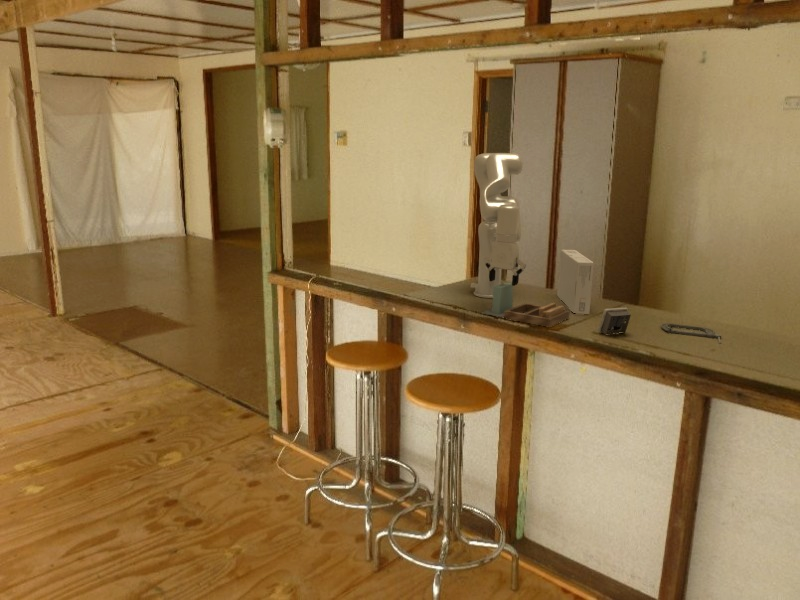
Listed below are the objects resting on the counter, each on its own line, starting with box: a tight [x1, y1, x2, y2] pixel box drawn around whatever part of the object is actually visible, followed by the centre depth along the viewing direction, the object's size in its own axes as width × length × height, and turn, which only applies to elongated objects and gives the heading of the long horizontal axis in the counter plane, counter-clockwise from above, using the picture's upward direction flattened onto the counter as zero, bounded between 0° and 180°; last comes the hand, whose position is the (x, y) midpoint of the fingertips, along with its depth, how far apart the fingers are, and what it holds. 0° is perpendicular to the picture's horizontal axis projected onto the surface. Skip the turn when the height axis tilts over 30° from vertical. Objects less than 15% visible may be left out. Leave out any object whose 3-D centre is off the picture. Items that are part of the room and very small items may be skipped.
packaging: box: [556, 249, 595, 315], centre depth 268 cm, size 30×6×20 cm, turn 179°
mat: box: [480, 306, 515, 318], centre depth 256 cm, size 9×16×1 cm, turn 143°
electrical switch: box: [597, 307, 632, 336], centre depth 229 cm, size 9×5×9 cm, turn 108°
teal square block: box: [491, 282, 514, 314], centre depth 255 cm, size 3×10×10 cm, turn 142°
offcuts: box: [539, 302, 565, 318], centre depth 244 cm, size 5×12×6 cm, turn 143°
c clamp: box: [660, 323, 722, 345], centre depth 233 cm, size 20×17×3 cm
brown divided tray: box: [503, 302, 571, 328], centre depth 247 cm, size 18×16×3 cm
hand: (503, 282), depth 254 cm, fingers open, 9 cm apart
